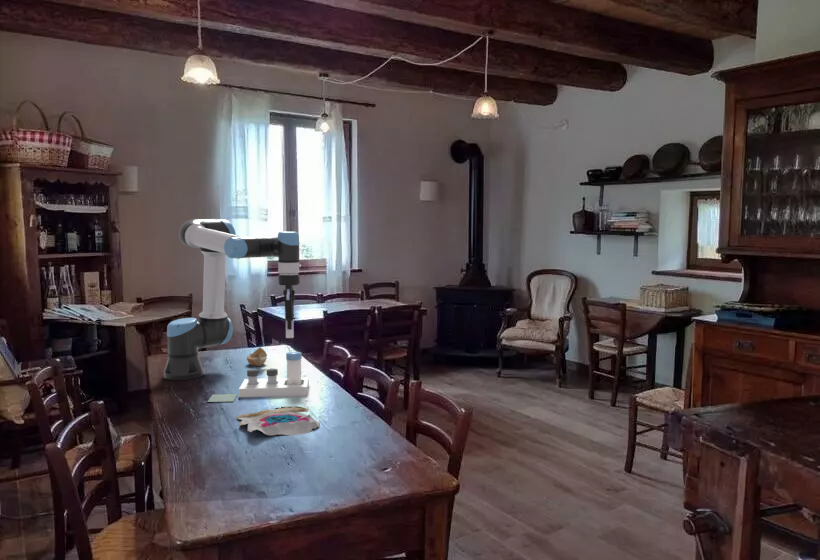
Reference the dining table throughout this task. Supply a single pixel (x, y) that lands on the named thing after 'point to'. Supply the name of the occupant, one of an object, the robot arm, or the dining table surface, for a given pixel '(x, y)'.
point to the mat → (223, 398)
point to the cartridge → (294, 368)
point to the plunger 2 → (272, 376)
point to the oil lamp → (257, 357)
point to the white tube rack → (273, 388)
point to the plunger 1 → (252, 376)
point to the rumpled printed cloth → (280, 421)
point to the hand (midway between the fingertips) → (289, 337)
